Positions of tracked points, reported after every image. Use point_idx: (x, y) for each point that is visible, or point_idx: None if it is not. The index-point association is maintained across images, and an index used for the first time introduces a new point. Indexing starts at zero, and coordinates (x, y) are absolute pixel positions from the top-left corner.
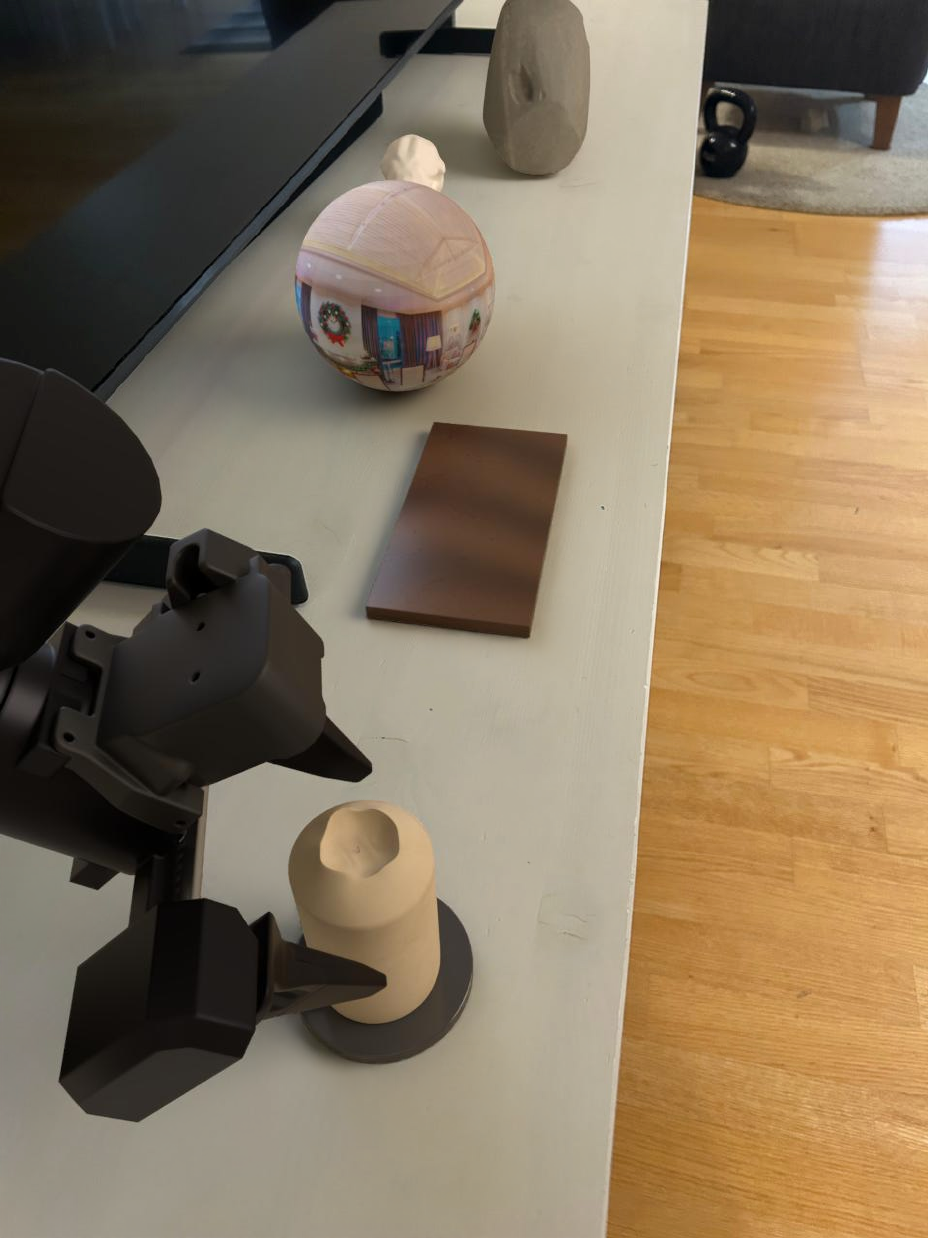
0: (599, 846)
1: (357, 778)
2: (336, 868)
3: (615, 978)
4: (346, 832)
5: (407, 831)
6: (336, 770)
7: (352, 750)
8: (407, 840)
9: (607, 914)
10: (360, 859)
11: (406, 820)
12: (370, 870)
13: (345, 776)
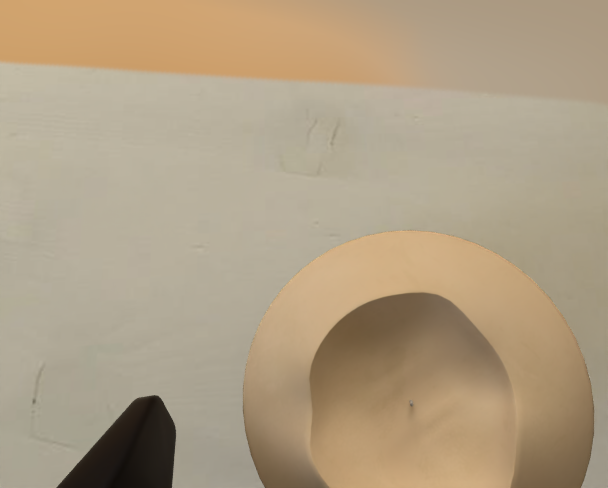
0: (214, 105)
1: (170, 429)
2: (477, 458)
3: (387, 86)
4: (361, 441)
5: (361, 280)
6: (157, 485)
7: (112, 449)
8: (388, 277)
9: (306, 95)
10: (433, 396)
11: (316, 291)
12: (466, 367)
13: (167, 459)
